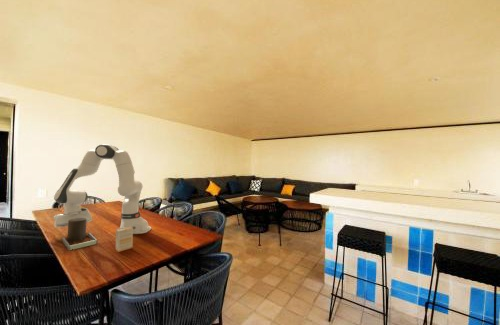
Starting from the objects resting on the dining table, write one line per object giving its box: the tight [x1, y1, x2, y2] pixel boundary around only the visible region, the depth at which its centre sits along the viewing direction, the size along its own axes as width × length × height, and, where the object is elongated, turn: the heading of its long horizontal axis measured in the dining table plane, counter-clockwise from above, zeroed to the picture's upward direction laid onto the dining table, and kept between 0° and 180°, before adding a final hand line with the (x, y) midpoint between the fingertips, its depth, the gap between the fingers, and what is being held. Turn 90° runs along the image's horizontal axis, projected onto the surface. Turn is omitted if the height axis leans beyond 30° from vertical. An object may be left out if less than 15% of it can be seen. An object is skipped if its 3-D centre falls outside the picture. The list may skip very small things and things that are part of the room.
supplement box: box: [115, 226, 134, 253], centre depth 126 cm, size 8×5×13 cm, turn 141°
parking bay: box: [61, 231, 98, 251], centre depth 133 cm, size 20×14×2 cm
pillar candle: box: [66, 218, 87, 243], centre depth 138 cm, size 10×10×15 cm
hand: (75, 229), depth 143 cm, fingers closed
